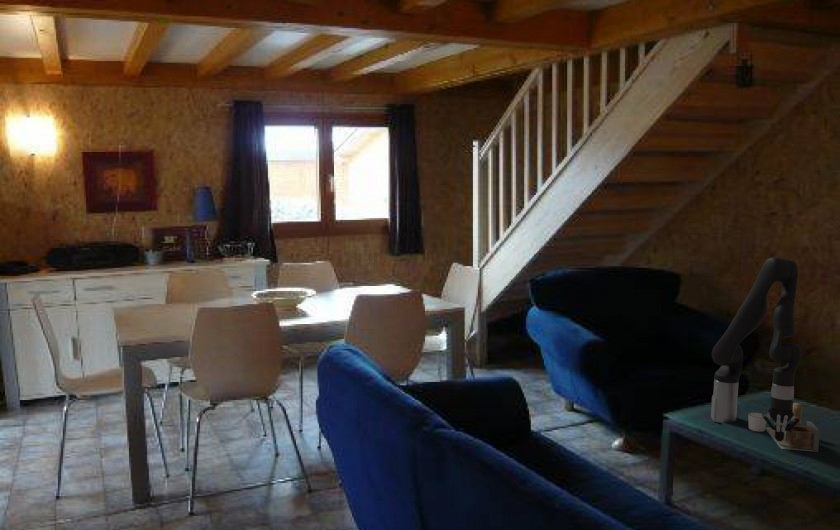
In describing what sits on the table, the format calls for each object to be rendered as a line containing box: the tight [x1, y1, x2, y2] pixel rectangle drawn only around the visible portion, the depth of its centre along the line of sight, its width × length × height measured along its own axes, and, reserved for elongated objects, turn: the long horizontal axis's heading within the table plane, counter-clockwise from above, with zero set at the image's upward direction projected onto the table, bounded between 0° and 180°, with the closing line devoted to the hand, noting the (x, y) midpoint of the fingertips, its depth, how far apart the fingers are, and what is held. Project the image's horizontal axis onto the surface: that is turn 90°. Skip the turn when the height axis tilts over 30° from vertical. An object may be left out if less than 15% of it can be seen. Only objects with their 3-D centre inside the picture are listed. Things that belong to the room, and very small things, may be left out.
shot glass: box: [747, 411, 767, 432], centre depth 274 cm, size 7×7×7 cm
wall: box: [805, 420, 821, 453], centre depth 256 cm, size 2×10×8 cm, turn 167°
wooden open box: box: [785, 425, 814, 449], centre depth 257 cm, size 7×8×6 cm
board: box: [765, 426, 817, 453], centre depth 264 cm, size 12×23×1 cm, turn 167°
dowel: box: [793, 402, 803, 426], centre depth 268 cm, size 3×3×12 cm
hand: (778, 440), depth 258 cm, fingers closed
